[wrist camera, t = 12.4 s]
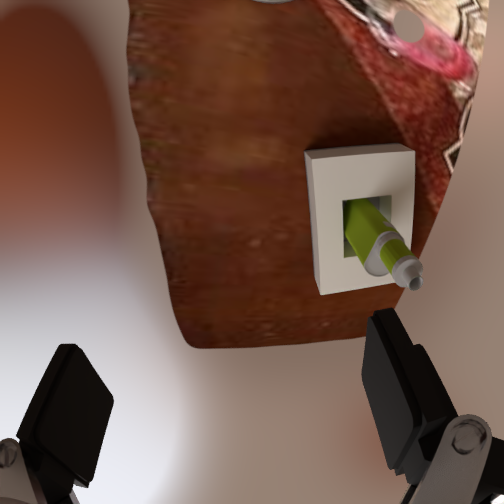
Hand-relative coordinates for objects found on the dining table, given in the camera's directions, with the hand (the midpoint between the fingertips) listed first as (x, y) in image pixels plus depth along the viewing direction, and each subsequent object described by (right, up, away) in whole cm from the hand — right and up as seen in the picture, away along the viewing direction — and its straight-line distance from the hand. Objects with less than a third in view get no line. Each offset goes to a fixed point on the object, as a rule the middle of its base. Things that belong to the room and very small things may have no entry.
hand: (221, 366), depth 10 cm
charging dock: (+16, +9, +37) cm, 41 cm away
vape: (+16, +9, +36) cm, 40 cm away
